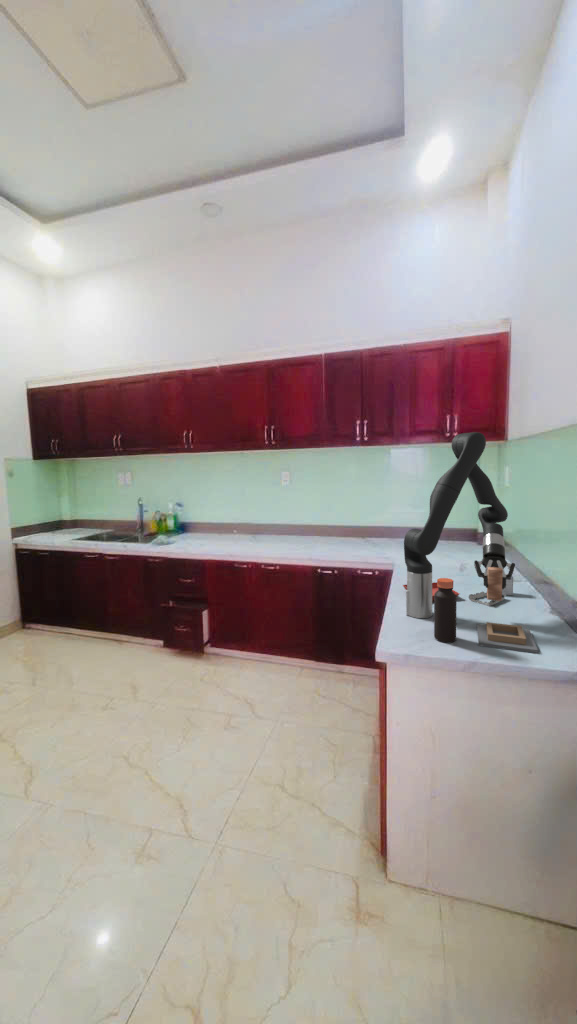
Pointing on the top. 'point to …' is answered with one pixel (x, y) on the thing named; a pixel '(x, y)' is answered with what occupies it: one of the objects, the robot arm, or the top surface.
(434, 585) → the plant saucer
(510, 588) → the medicine box
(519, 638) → the socket dock
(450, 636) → the bottle
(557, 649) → the top surface
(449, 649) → the top surface
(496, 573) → the terracotta post
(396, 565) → the top surface
